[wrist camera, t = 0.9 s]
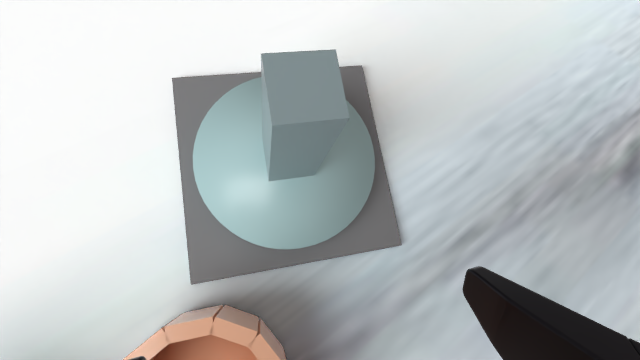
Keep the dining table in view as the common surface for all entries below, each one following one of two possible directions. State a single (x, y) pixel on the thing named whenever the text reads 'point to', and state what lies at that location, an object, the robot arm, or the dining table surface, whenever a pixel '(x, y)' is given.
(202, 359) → the bowl
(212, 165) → the domed base post
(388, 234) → the mat
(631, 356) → the robot arm
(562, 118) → the dining table surface
